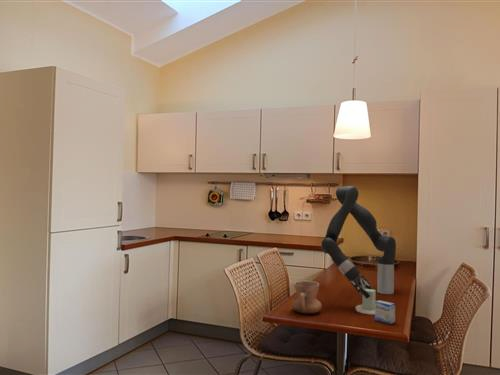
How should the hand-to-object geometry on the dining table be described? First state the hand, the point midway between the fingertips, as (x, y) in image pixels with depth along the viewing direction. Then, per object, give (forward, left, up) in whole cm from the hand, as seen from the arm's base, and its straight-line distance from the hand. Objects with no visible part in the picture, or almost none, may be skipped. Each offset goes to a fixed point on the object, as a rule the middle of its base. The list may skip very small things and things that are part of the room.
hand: (371, 295), depth 207 cm
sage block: (0, -1, -6) cm, 7 cm away
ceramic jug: (+20, -26, -8) cm, 34 cm away
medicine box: (+12, +10, -8) cm, 18 cm away
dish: (0, -1, -8) cm, 8 cm away
